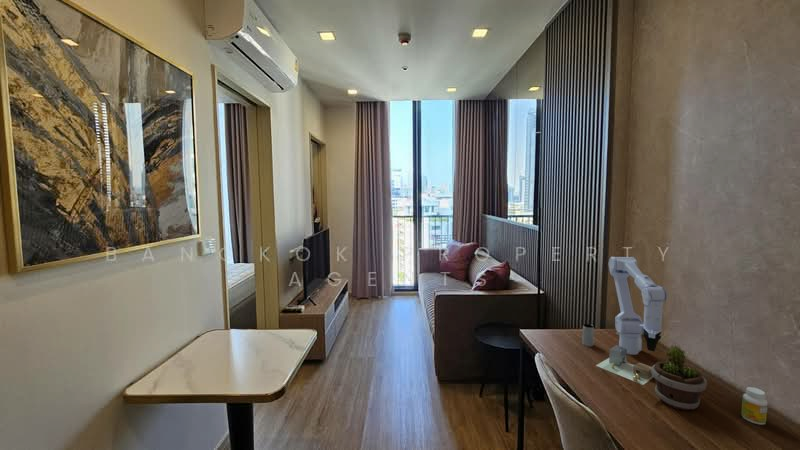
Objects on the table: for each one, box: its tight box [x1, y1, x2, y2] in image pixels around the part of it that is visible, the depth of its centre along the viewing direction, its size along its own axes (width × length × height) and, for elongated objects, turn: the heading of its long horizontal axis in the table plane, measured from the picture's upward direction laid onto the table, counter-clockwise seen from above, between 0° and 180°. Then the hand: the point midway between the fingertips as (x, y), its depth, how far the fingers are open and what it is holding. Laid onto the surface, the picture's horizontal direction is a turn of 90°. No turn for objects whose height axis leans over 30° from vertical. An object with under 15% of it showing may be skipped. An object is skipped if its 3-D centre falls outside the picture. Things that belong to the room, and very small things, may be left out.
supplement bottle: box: [741, 386, 769, 425], centre depth 104 cm, size 5×5×10 cm
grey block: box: [608, 344, 628, 367], centre depth 139 cm, size 6×4×6 cm, turn 123°
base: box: [595, 357, 654, 386], centre depth 133 cm, size 13×17×3 cm
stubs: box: [633, 373, 640, 382], centre depth 126 cm, size 4×1×2 cm, turn 123°
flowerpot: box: [651, 342, 708, 411], centre depth 113 cm, size 14×15×20 cm
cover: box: [633, 362, 652, 379], centre depth 129 cm, size 5×5×3 cm
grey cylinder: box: [581, 323, 595, 347], centre depth 156 cm, size 4×4×10 cm
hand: (651, 348), depth 132 cm, fingers open, 3 cm apart
